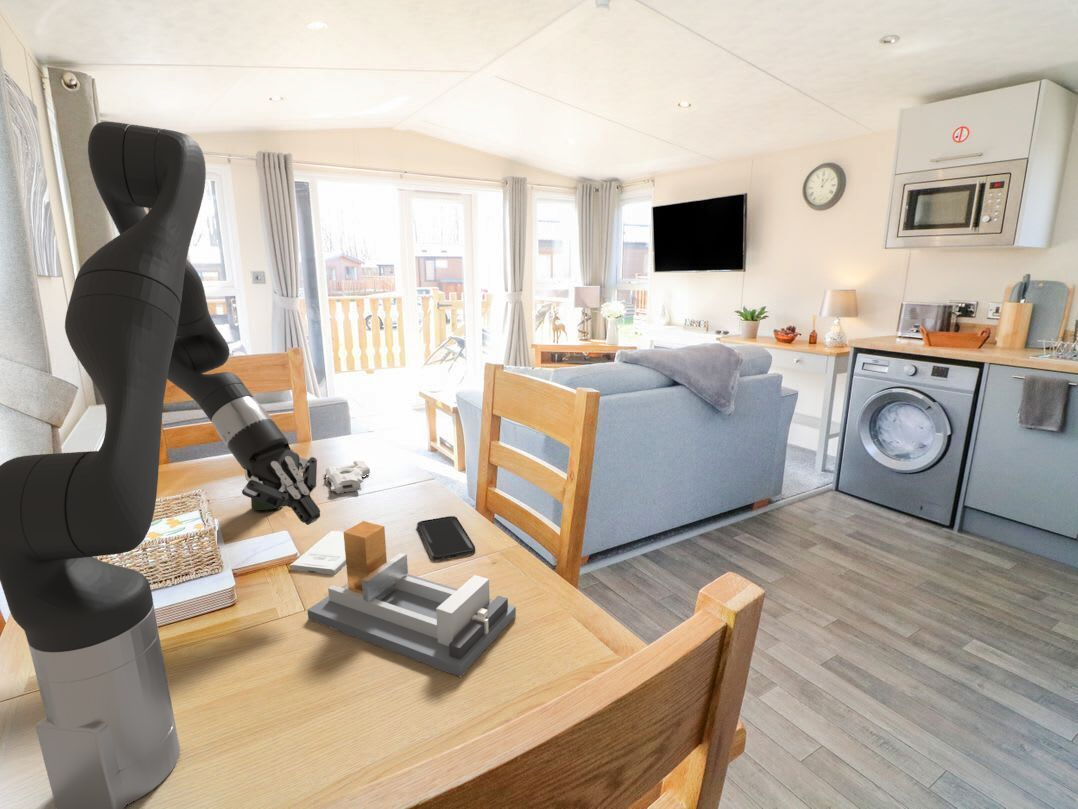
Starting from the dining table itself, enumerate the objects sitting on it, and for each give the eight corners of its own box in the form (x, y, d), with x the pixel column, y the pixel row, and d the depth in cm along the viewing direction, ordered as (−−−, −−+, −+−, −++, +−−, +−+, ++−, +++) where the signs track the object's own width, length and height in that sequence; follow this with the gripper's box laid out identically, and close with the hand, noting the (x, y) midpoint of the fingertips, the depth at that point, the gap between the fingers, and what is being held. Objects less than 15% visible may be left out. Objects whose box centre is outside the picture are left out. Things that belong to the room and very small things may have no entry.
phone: (455, 515, 113) (476, 549, 99) (455, 520, 113) (476, 555, 100) (415, 521, 110) (431, 557, 96) (415, 527, 110) (432, 563, 97)
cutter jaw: (332, 601, 82) (326, 536, 80) (373, 573, 89) (368, 514, 87) (369, 614, 79) (364, 547, 77) (408, 584, 86) (405, 523, 84)
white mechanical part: (377, 475, 126) (329, 483, 122) (378, 490, 127) (331, 499, 123) (363, 455, 142) (321, 462, 138) (365, 468, 143) (322, 475, 139)
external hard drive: (371, 542, 105) (335, 578, 93) (330, 538, 106) (289, 572, 94) (370, 534, 104) (334, 568, 92) (330, 530, 106) (289, 563, 94)
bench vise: (308, 619, 81) (303, 578, 79) (376, 572, 93) (373, 536, 92) (460, 677, 70) (459, 630, 68) (515, 615, 82) (515, 575, 80)
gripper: (219, 429, 81) (289, 525, 79) (294, 408, 93) (357, 492, 90) (200, 459, 85) (267, 551, 83) (275, 435, 96) (335, 516, 94)
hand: (314, 520), depth 86 cm, fingers closed
